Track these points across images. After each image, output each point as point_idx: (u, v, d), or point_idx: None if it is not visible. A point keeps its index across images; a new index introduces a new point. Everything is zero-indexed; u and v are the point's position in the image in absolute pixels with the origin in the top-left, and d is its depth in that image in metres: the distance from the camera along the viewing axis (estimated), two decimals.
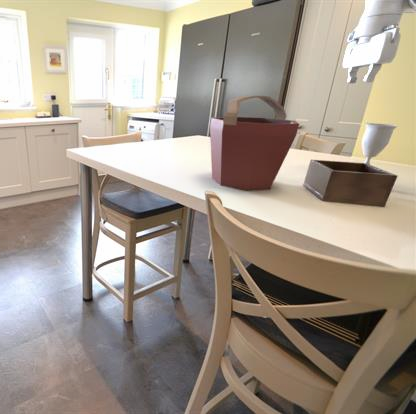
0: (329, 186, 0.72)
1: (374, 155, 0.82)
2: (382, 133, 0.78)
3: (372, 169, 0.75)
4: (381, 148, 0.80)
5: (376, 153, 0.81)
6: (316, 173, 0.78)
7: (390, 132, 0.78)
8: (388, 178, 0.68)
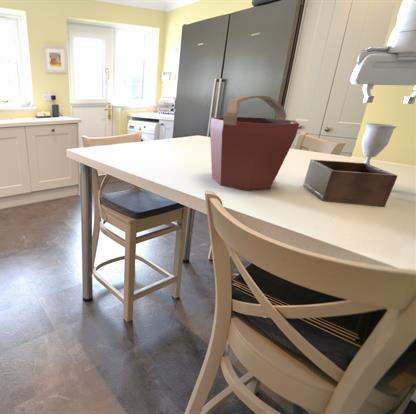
0: (329, 186, 0.72)
1: (374, 155, 0.82)
2: (382, 133, 0.78)
3: (372, 169, 0.75)
4: (381, 148, 0.80)
5: (376, 153, 0.81)
6: (316, 173, 0.78)
7: (390, 132, 0.78)
8: (388, 178, 0.68)
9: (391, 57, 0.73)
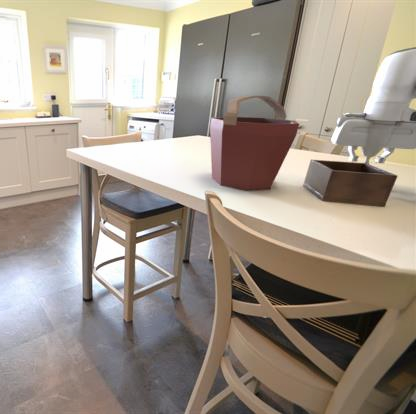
0: (329, 186, 0.72)
1: (373, 155, 0.82)
2: (380, 132, 0.78)
3: (372, 169, 0.75)
4: (380, 148, 0.80)
5: (375, 153, 0.81)
6: (316, 173, 0.78)
7: (389, 132, 0.78)
8: (388, 178, 0.68)
9: (367, 123, 0.80)
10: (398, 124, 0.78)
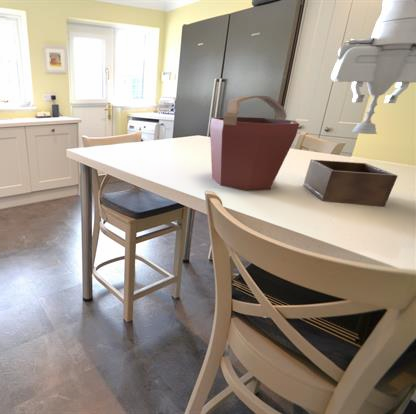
0: (329, 186, 0.72)
1: (382, 92, 0.67)
2: (392, 60, 0.63)
3: (372, 169, 0.75)
4: (391, 81, 0.65)
5: (385, 89, 0.66)
6: (316, 173, 0.78)
7: (402, 59, 0.63)
8: (388, 178, 0.68)
9: (376, 50, 0.64)
10: (414, 49, 0.62)
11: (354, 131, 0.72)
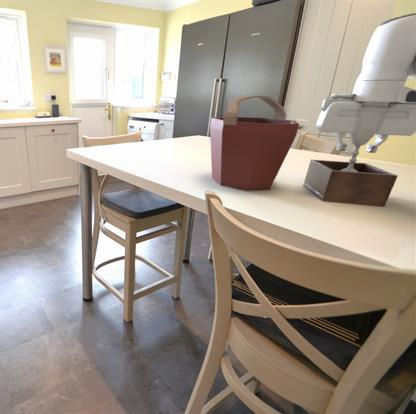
0: (329, 186, 0.72)
1: (363, 143, 0.71)
2: (371, 116, 0.67)
3: (372, 169, 0.75)
4: (371, 134, 0.69)
5: (366, 140, 0.70)
6: (316, 173, 0.78)
7: (381, 115, 0.67)
8: (388, 178, 0.68)
9: (357, 106, 0.69)
10: (392, 106, 0.67)
11: None
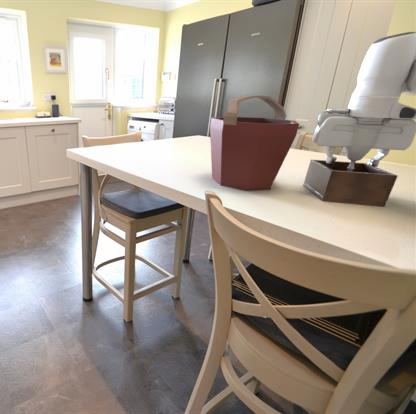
0: (329, 186, 0.72)
1: (359, 158, 0.72)
2: (366, 133, 0.69)
3: (372, 169, 0.75)
4: (366, 150, 0.71)
5: (361, 156, 0.72)
6: (316, 173, 0.78)
7: (376, 132, 0.69)
8: (388, 178, 0.68)
9: (352, 121, 0.70)
10: (386, 121, 0.68)
11: None
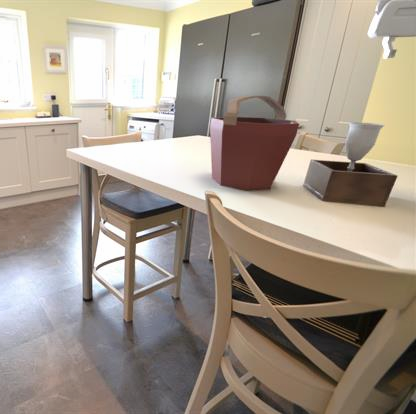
0: (329, 186, 0.72)
1: (359, 158, 0.72)
2: (366, 133, 0.69)
3: (372, 169, 0.75)
4: (366, 150, 0.71)
5: (361, 156, 0.72)
6: (316, 173, 0.78)
7: (376, 132, 0.69)
8: (388, 178, 0.68)
9: None
10: None
11: None
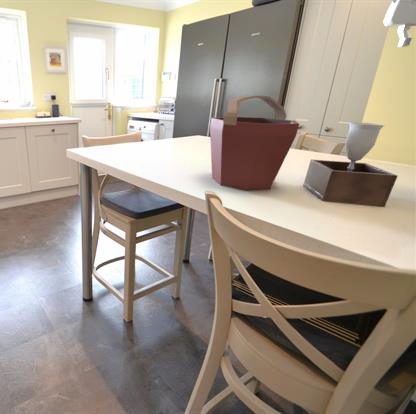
0: (329, 186, 0.72)
1: (359, 158, 0.72)
2: (366, 133, 0.69)
3: (372, 169, 0.75)
4: (366, 150, 0.71)
5: (361, 156, 0.72)
6: (316, 173, 0.78)
7: (376, 132, 0.69)
8: (388, 178, 0.68)
9: None
10: None
11: None
